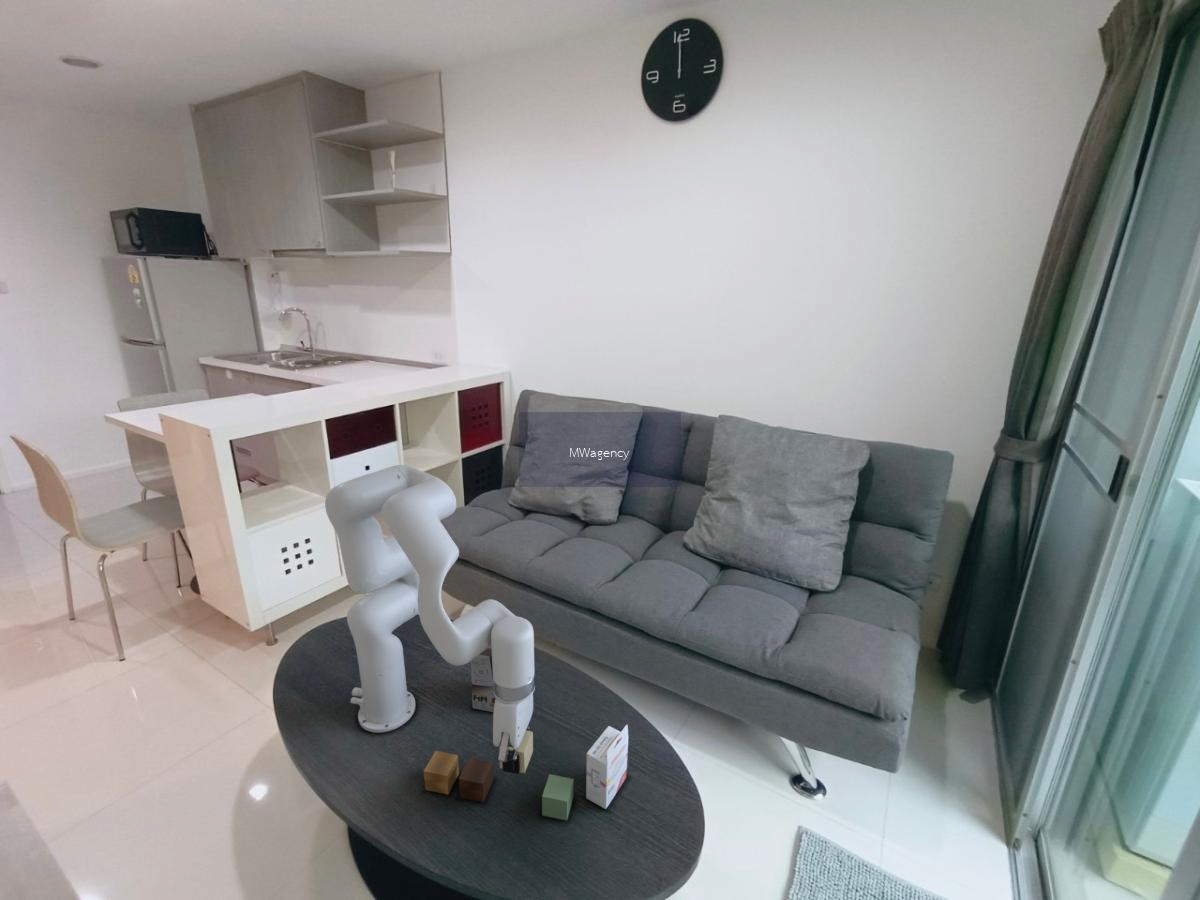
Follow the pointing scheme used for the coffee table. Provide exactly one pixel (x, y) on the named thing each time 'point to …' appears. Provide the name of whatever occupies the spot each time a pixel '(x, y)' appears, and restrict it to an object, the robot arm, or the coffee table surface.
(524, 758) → the cream block
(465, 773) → the walnut block
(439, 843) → the coffee table surface
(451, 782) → the honey block
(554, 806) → the sage block
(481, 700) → the coffee box
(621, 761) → the ink cartridge box
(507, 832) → the coffee table surface
